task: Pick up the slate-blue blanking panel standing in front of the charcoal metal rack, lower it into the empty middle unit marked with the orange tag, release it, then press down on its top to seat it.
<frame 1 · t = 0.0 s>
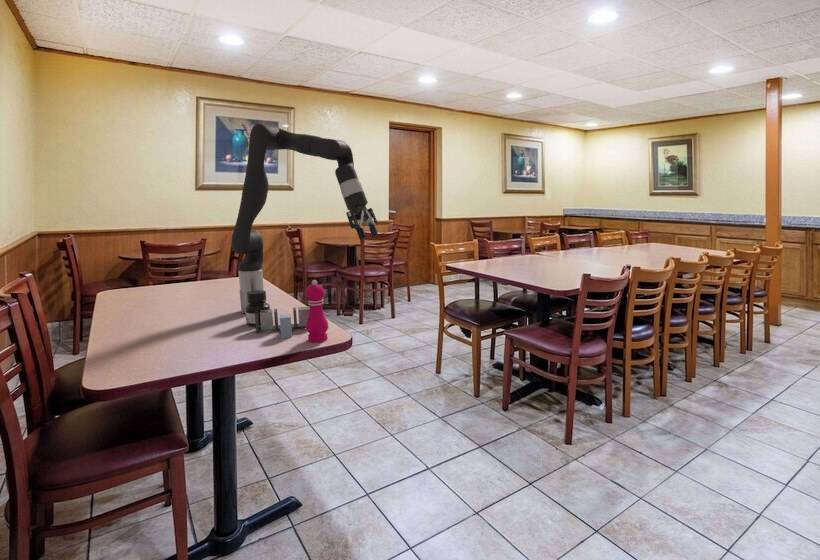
hand: (369, 237, 172), 31 cm above the table, tool tilted 20°, fingers open, 8 cm apart
ink bottle: (258, 323, 183), on the table
rack: (286, 328, 175), on the table
pepper mill: (318, 340, 161), on the table
panel: (286, 336, 167), on the table
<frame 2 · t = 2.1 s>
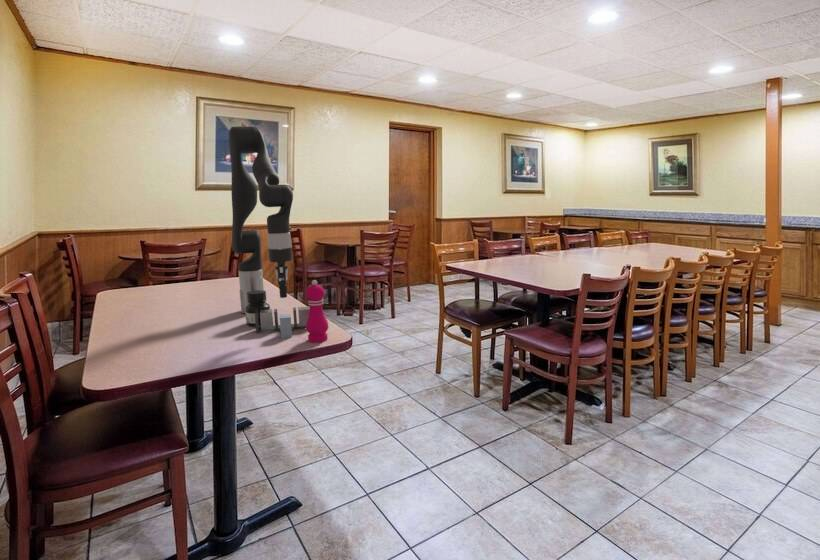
hand: (283, 294, 164), 14 cm above the table, tool pointing down, fingers open, 8 cm apart
nothing on the table moved.
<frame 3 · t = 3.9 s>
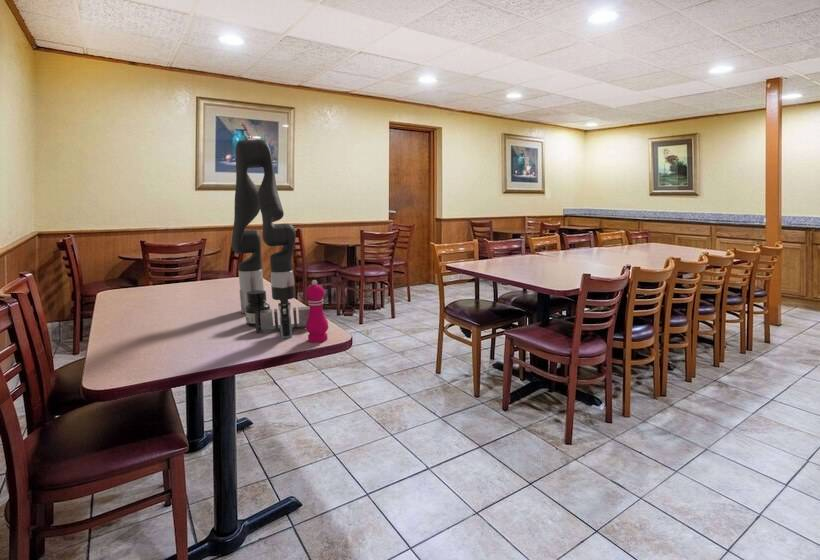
hand: (286, 333, 166), 1 cm above the table, tool pointing down, fingers closed on panel, 4 cm apart
panel: (286, 335, 167), on the table, touching gripper
everything else where it was.
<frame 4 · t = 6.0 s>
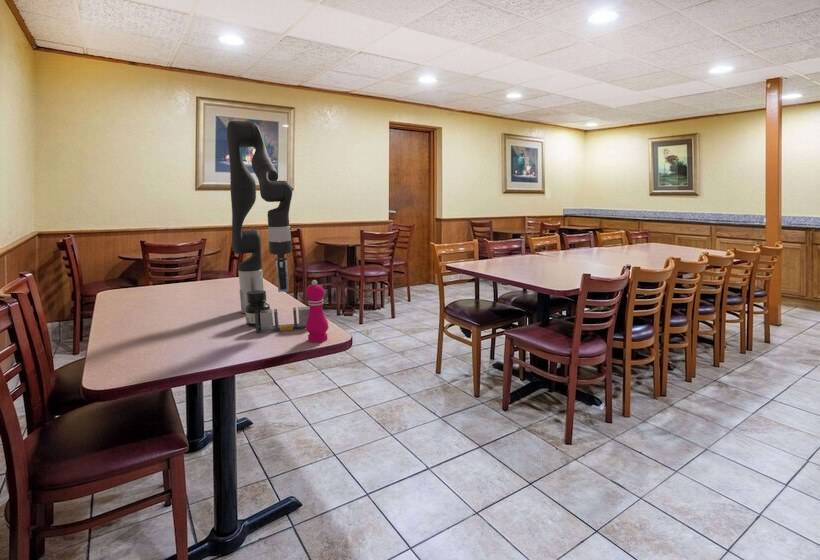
hand: (283, 287, 172), 15 cm above the table, tool pointing down, fingers closed on panel, 4 cm apart
panel: (283, 290, 173), point 14 cm above the table, touching gripper
everything else where it was.
when the fingers open (3 cm above the table, at t = 8.5 s): panel drops 1 cm, resting on rack.
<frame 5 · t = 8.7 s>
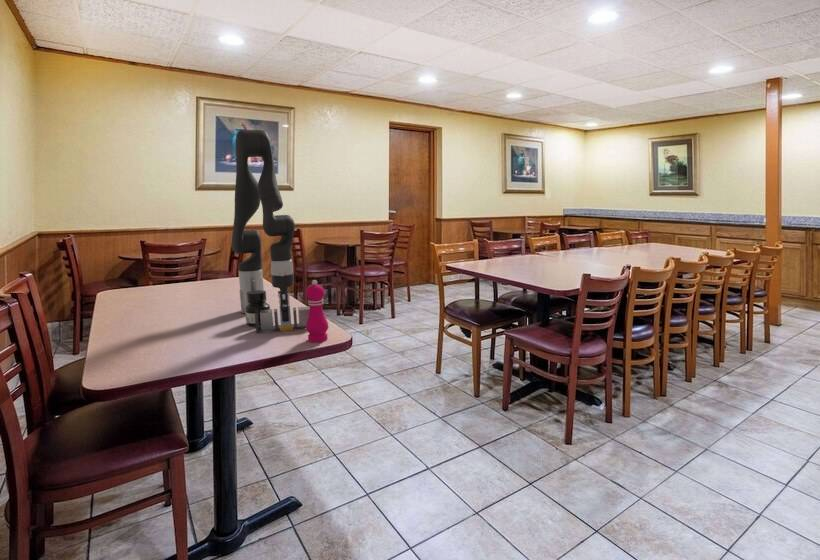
hand: (285, 318, 175), 4 cm above the table, tool pointing down, fingers open, 6 cm apart
panel: (286, 324, 175), point 1 cm above the table, tilted 8°, touching gripper, rack
everything else where it was.
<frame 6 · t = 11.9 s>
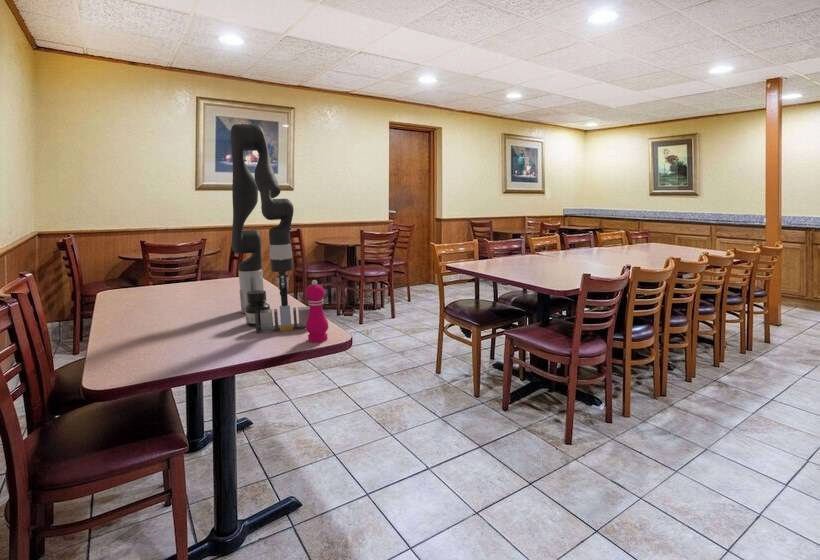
hand: (284, 305, 173), 9 cm above the table, tool pointing down, fingers closed
nothing on the table moved.
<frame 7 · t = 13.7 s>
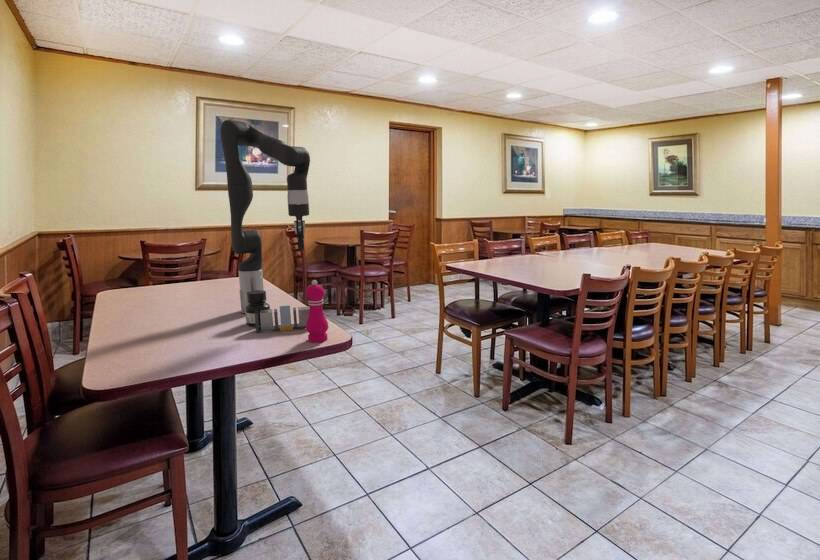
hand: (301, 249, 183), 27 cm above the table, tool pointing down, fingers closed
panel: (286, 325, 175), point 1 cm above the table, tilted 9°, touching rack
everything else where it was.
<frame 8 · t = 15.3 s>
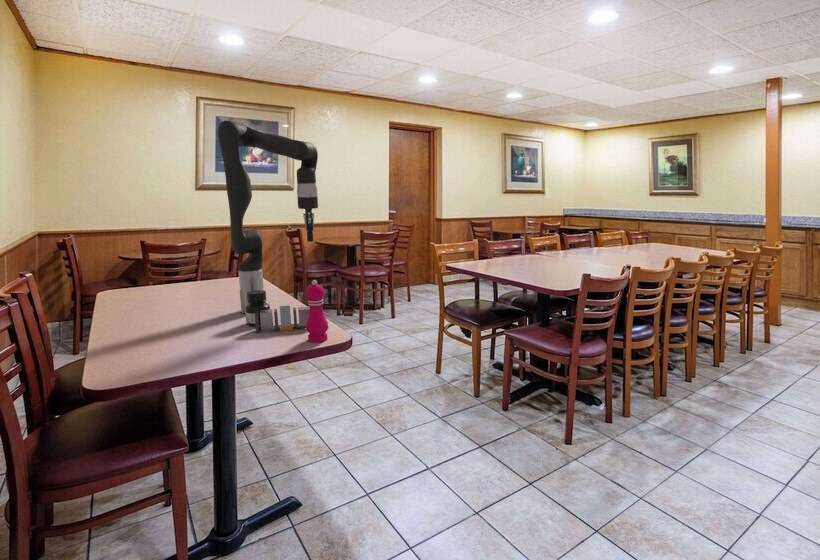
hand: (310, 241, 190), 29 cm above the table, tool pointing down, fingers closed
nothing on the table moved.
at the end: panel 0.0 cm off-centre on the rack, point 1.3 cm above the rack's base; panel tilted 9°; the gripper is holding nothing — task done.
